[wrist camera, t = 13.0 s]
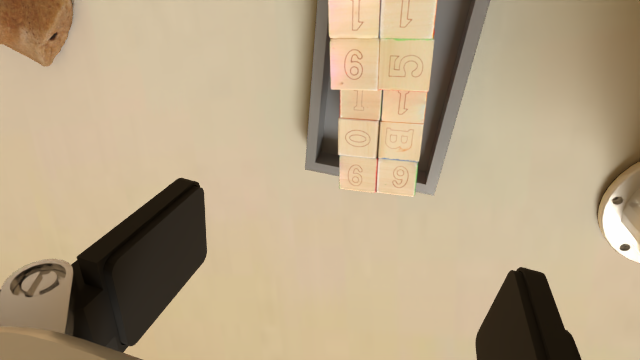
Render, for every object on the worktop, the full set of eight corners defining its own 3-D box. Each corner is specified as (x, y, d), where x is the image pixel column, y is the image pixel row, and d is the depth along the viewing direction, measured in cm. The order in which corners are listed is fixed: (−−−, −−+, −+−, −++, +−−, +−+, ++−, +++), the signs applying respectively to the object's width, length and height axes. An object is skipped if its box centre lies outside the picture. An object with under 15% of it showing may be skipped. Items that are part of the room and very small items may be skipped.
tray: (535, -187, 24) (550, -210, 21) (433, 178, 38) (433, 195, 35) (343, -191, 27) (333, -212, 24) (314, 155, 41) (304, 169, 38)
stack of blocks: (417, 151, 37) (413, 221, 26) (355, 145, 38) (327, 209, 28) (452, -123, 26) (467, -187, 16) (364, -117, 28) (325, -172, 17)
